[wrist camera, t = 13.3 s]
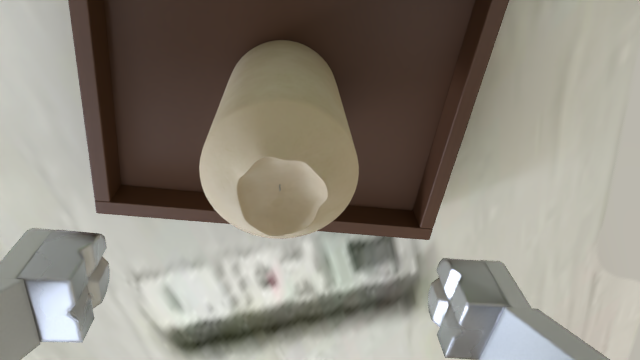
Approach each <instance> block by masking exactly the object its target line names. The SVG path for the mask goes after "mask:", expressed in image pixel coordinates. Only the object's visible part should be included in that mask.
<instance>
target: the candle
mask: <svg viewBox="0 0 640 360" xmlns="http://www.w3.org/2000/svg"><path fill="white" fill-rule="evenodd" d="M199 171H200V180H201V184H202V188H203V190H204V193H205V195H206V197H207V199H208V201H209V203H210V204H211V205H212V207H213V208H214V209H215V210H216V212H217V213H218V214H219V215H220V216H221V217H222V218H224V219H225V220H226V221H227V222H229V223H230V224H232V225H233V226H235V227H237V228H239V229H241V230H243V231H245V232H247V233H250V234H253V235H257V236H261V237H266V238H278V239H284V238H294V237H299V236H303V235H307V234H310V233H313V232H315V231H317V230H319V229H321V228H323V227H325V226H327V225H328V224H329V223H331V222H332V221H334V220H335V219H336V218H337V217H338V216H339V215H340V214H341V213H342V212H343V211H344V210H345V208H346V207H347V206H348V204H349V203H350V201H351V199H352V197H353V195H354V193H355V190H356V186H357V183H358V176H359V164H358V158H357V154H356V150H355V147H354V143H353V140H352V136H351V133H350V129H349V126H348V122H347V119H346V115H345V112H344V108H343V105H342V101H341V98H340V94H339V91H338V87H337V84H336V81H335V78H334V75H333V73H332V71H331V69H330V67H329V66H328V64H327V63H326V62H325V60H324V59H323V58H322V57H321V56H320V55H319V54H318V53H316V52H315V51H314V50H312V49H311V48H309V47H307V46H305V45H303V44H300V43H297V42H293V41H287V40H276V41H270V42H266V43H263V44H260V45H258V46H256V47H254V48H253V49H251V50H250V51H249V52H247V53H246V54H245V55H244V56H243V57H242V58H241V59H240V60H239V62H238V63H237V64H236V66H235V68H234V69H233V72H232V74H231V76H230V79H229V81H228V84H227V86H226V89H225V91H224V94H223V97H222V99H221V102H220V104H219V107H218V110H217V112H216V115H215V118H214V120H213V123H212V125H211V128H210V131H209V133H208V136H207V138H206V141H205V144H204V146H203V149H202V153H201V157H200V165H199Z"/></svg>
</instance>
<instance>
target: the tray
mask: <svg viewBox="0 0 640 360" xmlns="http://www.w3.org/2000/svg"><path fill="white" fill-rule="evenodd" d="M68 1H69V9H70V16H71V24H72V32H73V39H74V47H75V54H76V62H77V69H78V77H79V84H80V92H81V99H82V107H83V115H84V122H85V130H86V137H87V145H88V152H89V160H90V167H91V175H92V182H93V190H94V198H95V206H96V213H102V214H114V215H126V216H139V217H151V218H164V219H176V220H188V221H201V222H213V223H226V224H230V223H229V222H227V221H226V220H225V219H224V218H222V217H221V216H220V215H219V214H218V213H217V212H216V210H215V209H214V208H213V207H212V205H211V204H210V203H209V201H208V199H207V197H206V195H205V193H204V190H203V188H202V184H201V180H200V171H199V165H200V157H201V153H202V149H203V146H204V144H205V141H206V138H207V136H208V133H209V131H210V128H211V125H212V123H213V120H214V118H215V115H216V112H217V110H218V107H219V104H220V102H221V99H222V97H223V94H224V91H225V89H226V86H227V84H228V81H229V79H230V76H231V74H232V72H233V69H234V68H235V66H236V64H237V63H238V62H239V60H240V59H241V58H242V57H243V56H244V55H245V54H246V53H247V52H249V51H250V50H251V49H253V48H254V47H256V46H258V45H260V44H263V43H266V42H270V41H276V40H287V41H293V42H297V43H300V44H303V45H305V46H307V47H309V48H311V49H312V50H314V51H315V52H316V53H318V54H319V55H320V56H321V57H322V58H323V59H324V60H325V62H326V63H327V64H328V66H329V67H330V69H331V71H332V73H333V75H334V78H335V81H336V84H337V87H338V91H339V94H340V98H341V101H342V105H343V108H344V112H345V115H346V119H347V122H348V126H349V129H350V133H351V136H352V140H353V143H354V147H355V150H356V154H357V158H358V164H359V176H358V183H357V186H356V190H355V193H354V195H353V197H352V199H351V201H350V203H349V204H348V206H347V207H346V208H345V210H344V211H343V212H342V213H341V214H340V215H339V216H338V217H337V218H336V219H335V220H334V221H332V222H331V223H329V224H328V225H327V226H325V227H323V228H321V229H319V230H317V231H325V232H337V233H350V234H362V235H375V236H387V237H399V238H412V239H424V240H429V239H430V236H431V233H432V228H433V226H434V223H435V220H436V217H437V214H438V211H439V208H440V205H441V202H442V199H443V196H444V193H445V190H446V187H447V184H448V181H449V178H450V175H451V172H452V169H453V166H454V163H455V160H456V157H457V154H458V151H459V148H460V145H461V142H462V139H463V136H464V133H465V130H466V127H467V124H468V121H469V118H470V115H471V112H472V109H473V106H474V103H475V100H476V97H477V94H478V91H479V88H480V85H481V82H482V79H483V76H484V73H485V71H486V68H487V65H488V62H489V59H490V56H491V53H492V50H493V47H494V44H495V41H496V38H497V35H498V32H499V29H500V26H501V23H502V20H503V17H504V14H505V11H506V8H507V5H508V2H509V0H68Z"/></svg>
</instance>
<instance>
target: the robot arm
mask: <svg viewBox="0 0 640 360" xmlns="http://www.w3.org/2000/svg"><path fill="white" fill-rule="evenodd" d="M105 250H106V242H105V237H104V236H103V235H102V234H97V233H86V232H76V231H65V230H50V229H39V228H32V229H29V230H27V231H26V232H25V233H24V234H23V236H22V237H21V238H20V239H19V240H18V242H17V243H16V244H15V245H14V246H13V247H12V249H11V250H10V251H9V252H8V253H7V255H6V256H5V257H4V258H3V259H2V261H1V262H0V360H21V359H22V358H23V357H25V356H26V355H27V354H28V353H30V352H31V351H32V350H33V349H35V348H36V347H37V346H38V345H40V342H83V340H84V338H85V336H86V334H87V332H88V330H89V328H90V326H91V324H92V322H93V320H94V314H93V308H95V307H96V306H98V305H99V304H101V303H102V301H103V299H104V296H105V294H106V291H107V287H108V283H109V263H108V262H107V261H106V260H105V259H104V258H103V257H102V255H103V254H104V252H105ZM437 273H438V275H439V278H438V279H436V280H435V281H434V282H432V283H431V287H430V290H429V293H428V308H429V313H430V316H431V319H432V321H433V322H434V323H436V324H437V325H438V326H439V327H440V328H439V331H438V333H437V336H438V339H439V342H440V345H441V347H442V350H443V353H444V356H445V358H459V359H474V360H610V359H608V358H607V357H605V356H604V355H603V354H601V353H600V352H598V351H597V350H595V349H594V348H593V347H591V346H590V345H588V344H587V343H585V342H584V341H583V340H581V339H580V338H578V337H577V336H575V335H574V334H573V333H571V332H570V331H568V330H567V329H566V328H564V327H563V326H561V325H560V324H558V323H557V322H556V321H554V320H553V319H551V318H550V317H548V316H547V315H546V314H544V313H543V312H541V311H540V310H538V309H532V308H531V306H530V305H529V303H528V302H527V300H526V298H525V297H524V295H523V294H522V292H521V290H520V289H519V287H518V286H517V284H516V282H515V281H514V279H513V277H512V276H511V274H510V273H509V271H508V269H507V268H506V266H505V265H504V264H503V263H502V262H500V261H487V260H481V261H478V260H463V259H447V258H443V259H442V260H441V261H440V262H439V265H438V267H437Z"/></svg>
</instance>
